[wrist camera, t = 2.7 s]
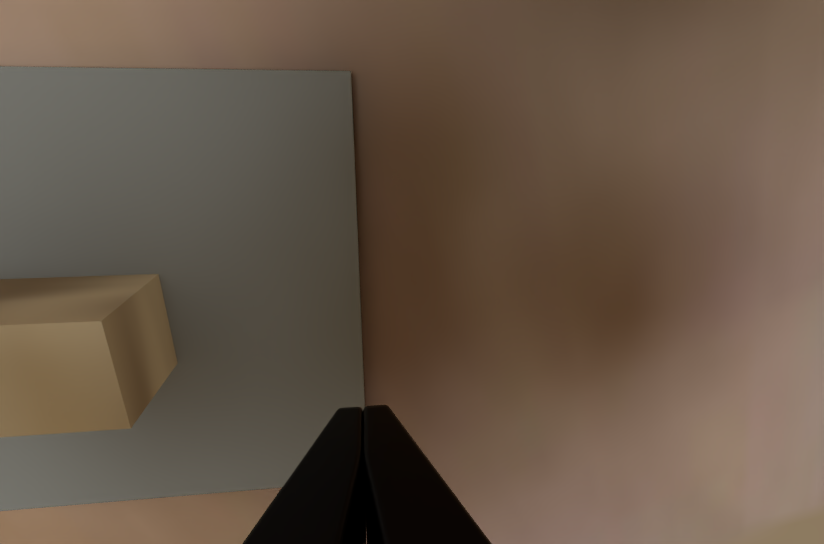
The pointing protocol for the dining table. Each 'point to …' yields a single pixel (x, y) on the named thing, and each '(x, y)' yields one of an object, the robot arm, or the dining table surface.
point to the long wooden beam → (81, 352)
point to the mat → (191, 264)
